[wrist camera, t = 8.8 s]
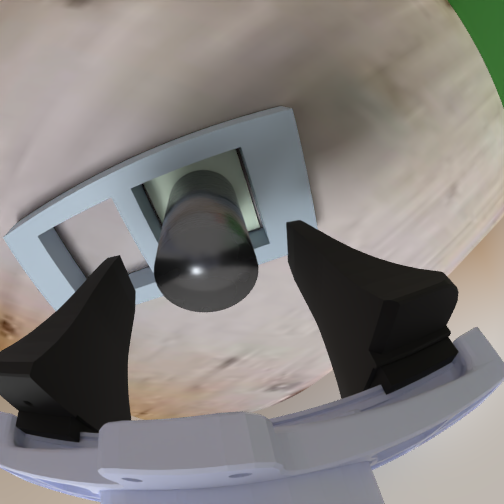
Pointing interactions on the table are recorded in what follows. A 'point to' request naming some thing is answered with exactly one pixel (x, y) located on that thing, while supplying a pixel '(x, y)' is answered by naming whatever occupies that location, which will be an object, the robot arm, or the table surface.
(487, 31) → the hardback book
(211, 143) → the grey double-hole frame
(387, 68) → the table surface
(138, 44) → the table surface
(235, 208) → the peg
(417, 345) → the robot arm
